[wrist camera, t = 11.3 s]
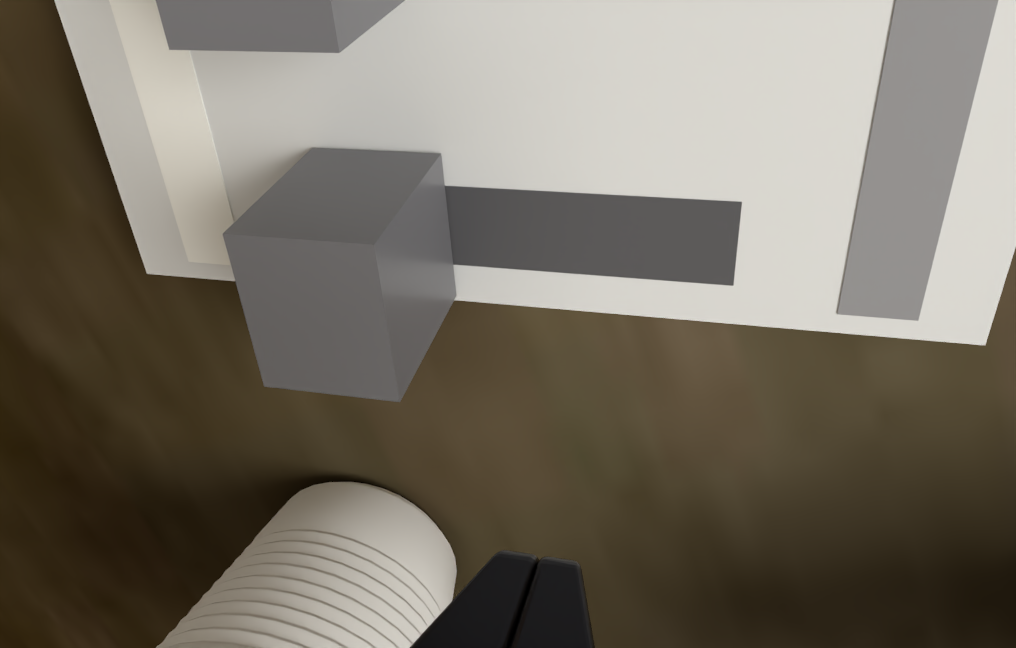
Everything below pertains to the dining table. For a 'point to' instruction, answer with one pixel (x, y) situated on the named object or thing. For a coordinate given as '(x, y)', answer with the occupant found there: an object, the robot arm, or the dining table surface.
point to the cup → (329, 577)
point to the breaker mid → (269, 24)
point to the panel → (613, 149)
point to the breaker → (346, 271)
